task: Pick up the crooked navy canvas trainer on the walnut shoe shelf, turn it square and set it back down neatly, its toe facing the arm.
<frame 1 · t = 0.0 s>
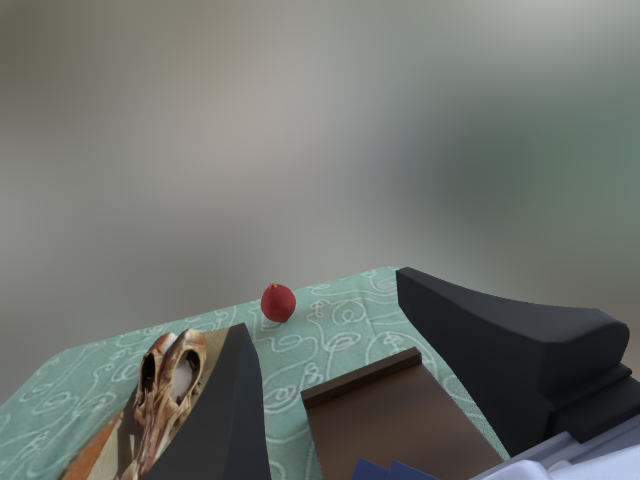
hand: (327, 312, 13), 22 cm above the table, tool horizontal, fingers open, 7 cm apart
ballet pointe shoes: (172, 402, 38), on the table
onion: (284, 322, 50), on the table
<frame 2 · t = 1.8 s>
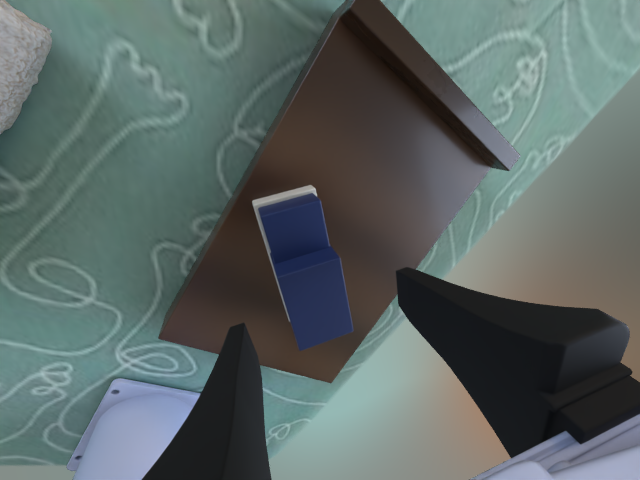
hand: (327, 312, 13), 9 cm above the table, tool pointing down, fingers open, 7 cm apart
shoe shelf: (327, 228, 21), on the table
trainer: (297, 254, 18), point 2 cm above the table, touching shoe shelf
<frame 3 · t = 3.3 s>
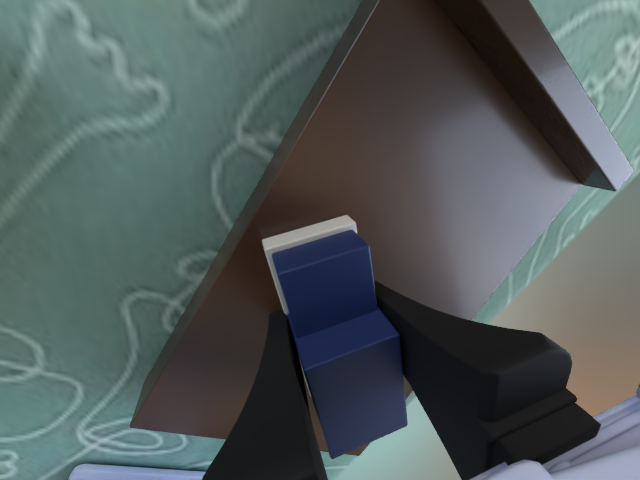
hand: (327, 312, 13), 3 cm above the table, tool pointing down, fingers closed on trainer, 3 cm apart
shoe shelf: (359, 264, 16), on the table
trainer: (324, 307, 13), point 2 cm above the table, touching gripper, shoe shelf
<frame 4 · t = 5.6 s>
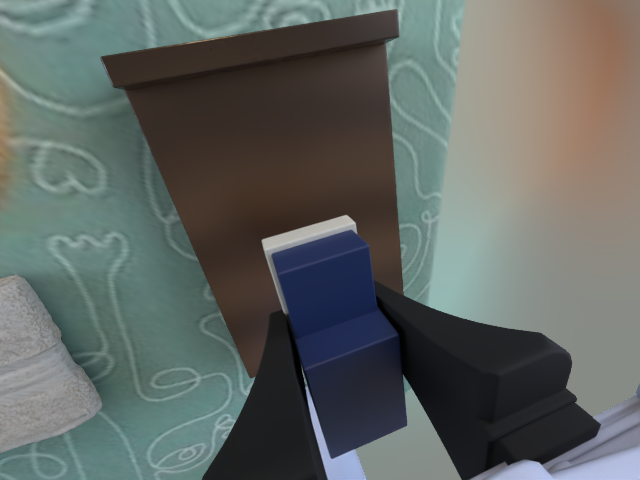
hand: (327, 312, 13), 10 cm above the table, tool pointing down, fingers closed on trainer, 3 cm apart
shoe shelf: (297, 220, 21), on the table
trainer: (323, 307, 13), point 10 cm above the table, touching gripper
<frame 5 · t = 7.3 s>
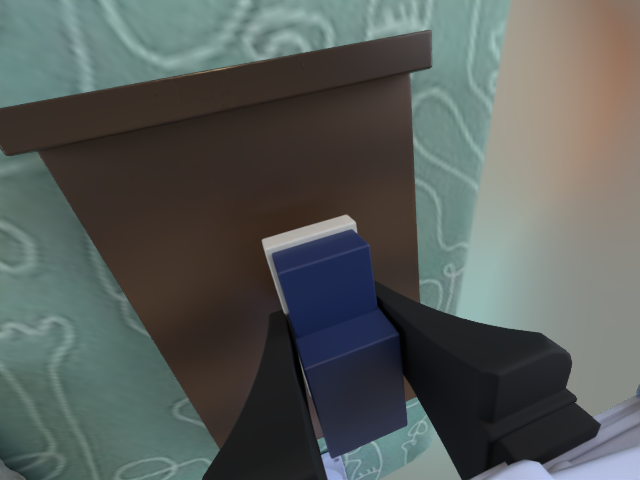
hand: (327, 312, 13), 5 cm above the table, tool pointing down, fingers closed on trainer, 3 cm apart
shoe shelf: (292, 285, 17), on the table
trainer: (324, 307, 13), point 4 cm above the table, touching gripper
when the fingers open (3 cm above the table, at t = 8.2 s): trainer stays where it is, resting on shoe shelf.
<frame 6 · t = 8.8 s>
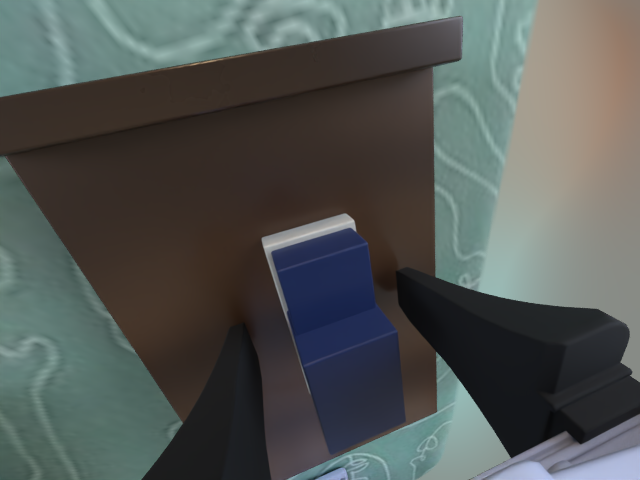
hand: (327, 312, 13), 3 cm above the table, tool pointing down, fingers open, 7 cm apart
shoe shelf: (297, 299, 16), on the table
trainer: (323, 305, 13), point 2 cm above the table, touching shoe shelf
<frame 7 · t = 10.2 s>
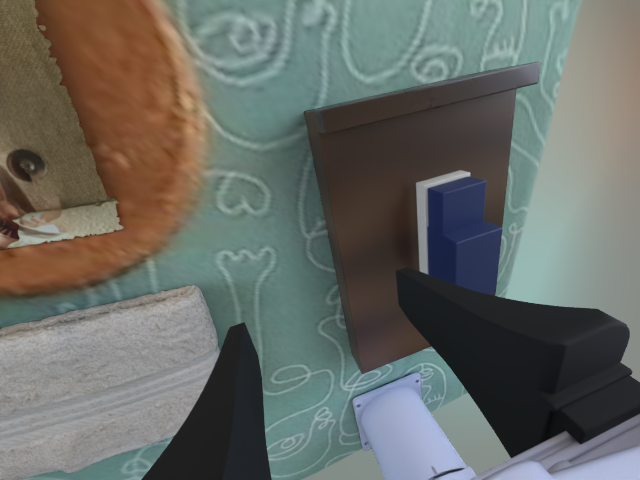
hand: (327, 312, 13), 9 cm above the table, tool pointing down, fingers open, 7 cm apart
shoe shelf: (409, 233, 24), on the table
trainer: (438, 229, 22), point 2 cm above the table, touching shoe shelf
washcloth: (100, 367, 21), on the table
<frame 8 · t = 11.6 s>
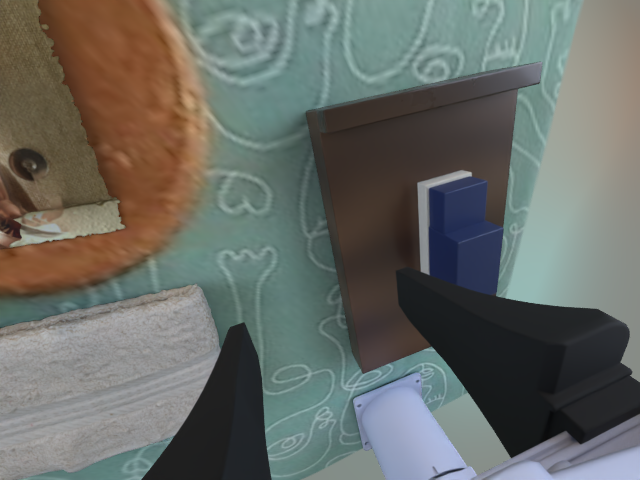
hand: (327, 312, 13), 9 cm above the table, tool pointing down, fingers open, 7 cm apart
shoe shelf: (410, 233, 24), on the table
trainer: (439, 229, 22), point 2 cm above the table, touching shoe shelf
washcloth: (101, 367, 21), on the table
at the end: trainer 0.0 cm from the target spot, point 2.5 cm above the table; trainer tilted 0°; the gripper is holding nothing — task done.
